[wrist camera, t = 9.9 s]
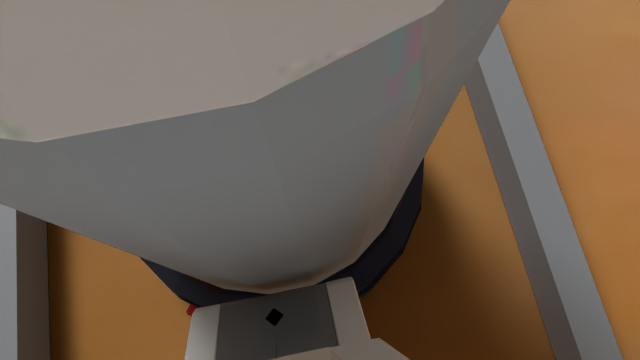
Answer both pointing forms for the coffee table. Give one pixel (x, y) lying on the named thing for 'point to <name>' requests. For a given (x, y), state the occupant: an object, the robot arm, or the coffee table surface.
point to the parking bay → (517, 192)
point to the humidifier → (232, 130)
